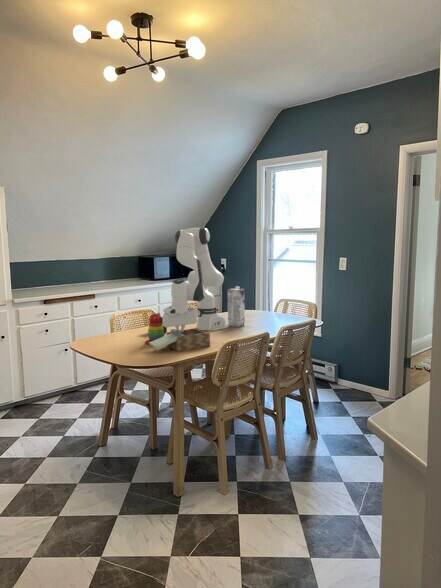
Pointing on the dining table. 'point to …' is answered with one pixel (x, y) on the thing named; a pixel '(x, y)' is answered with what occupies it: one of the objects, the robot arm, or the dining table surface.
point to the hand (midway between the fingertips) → (180, 333)
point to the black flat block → (163, 326)
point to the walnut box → (191, 340)
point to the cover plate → (166, 339)
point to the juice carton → (236, 307)
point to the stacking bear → (155, 328)
